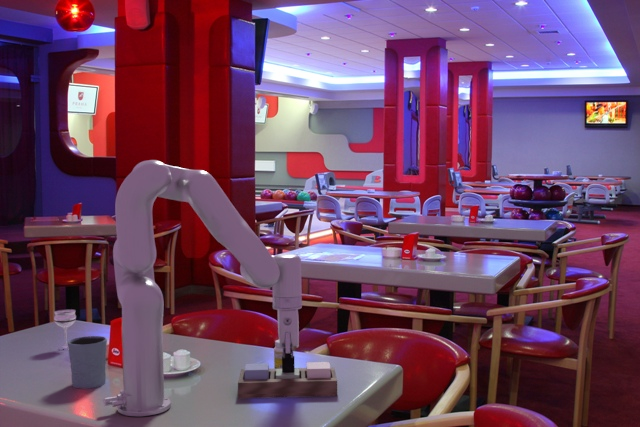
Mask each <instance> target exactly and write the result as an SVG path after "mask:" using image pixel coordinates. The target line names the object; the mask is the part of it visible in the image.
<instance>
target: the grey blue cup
mask: <svg viewBox="0 0 640 427" xmlns="http://www.w3.org/2000/svg"><path fill="white" fill-rule="evenodd" d="M107 343H108V338H107V337H105V336H99V335H95V336H94V335H92V336H91V335H90V336H81V337H79V336H78V337H75V338H72V339H70V340H68V341H67V346H68V349H69V350H68V356H69V363H70V369H71V371H70V372H71V383H72V387H73V388H76V389H82V390H83V389H84V390H85V389H95V388H99V387H102V386H103V385H105V384H106V380H107V379H106V378H107V377H106V376H107V374H106V368H107V367H106V365H107V362H106V360H107V345H108V344H107Z"/></svg>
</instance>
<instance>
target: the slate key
mask: <svg viewBox="0 0 640 427" xmlns="http://www.w3.org/2000/svg"><path fill="white" fill-rule="evenodd" d="M244 369H245V370H244V371H245V380H253V379H269V369H270V364H269V363H268V362H267V363H264V362H262V363H245V368H244Z"/></svg>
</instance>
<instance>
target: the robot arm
mask: <svg viewBox="0 0 640 427" xmlns="http://www.w3.org/2000/svg"><path fill="white" fill-rule="evenodd" d="M157 197H158V198H163V199H168V200H173V201H177V202H186V203H188V204H189V205H190V206H191V208H192V209H193V211H194V212H195V213H196V214H197V216H198V218H200V220H201V221H202V223H203V224H204V226H205V227H206V229H207V230H208V232H209V233H210V234H211V235H212V237H213V238H214V239H215V240H216V241H217V242H218V243H220V244H221V245H222V246H223V247H225V249H226V250H228V252H230V253H231V254H232V255H233V257H234V258H235V259H236V260H237V261H238V263H239V264H240V267H239V270H240V271H239V272H240V275H241V277H242V278H243V279H244V280H245V281H246V282H248V283H250V284H251V285H254V286H255V287H257V288H260V289H269V288H272V309H273V310H276V311H277V328H278V329H277V333H278V340H279V343H280V347H281V348H282V347H283V356H282V372H283V373H294V372H295V368H296V367H295V355H294V348H296V349H298V348H299V347H300V344H299V343H300V340H299V339H300V332H299V329H300V327H299V324H300V322H299V310H300V309H302V307H303V303H302V302H303V299H302V298H303V297H302V296H303V292H302V259H301V257H300V256H299V255H298V254H293V253H292V254H291V253H285V254H284V253H282V254H281V253H280V254H277V255H272V254H271V253H270V251H269V249H268V248H267V247H266V245H265V244H264V242H262V240H261V239H260V237H259V236H257V234H256V233H255V232H254V230H252V228H251V227H250V226H249V224H248V223H247V221H246V220H245V219H244V218H243V217H242V216H241V214H240V213H239V211H238V210H237V209H236V208H235V206H234V205H233V203H232V202H231V201H230V199H229V197H228V196H227V194H226V193H225V192H224V190H223V189H222V188H221V186H220V185H219V183H218V181H217V180H216V179H215V177H213V176H212V174H210V173H209V172H207V171H205V170H203V169H189V168H183V167H179V166H173V165H169V164H165V163H164V162H162V161H160V160H157V159H149V160H143V161H141V162H138V163H137V164H136V165H135V166H134V167H133V169H132V171H131V172H130V173H129V174H128V175H126V177H125V178H124V180H123V182H122V183H121V185H120V187H119V188H118V190H117V194H116V197H115V206H114V207H115V208H114V210H115V212H114V213H115V214H114V215H115V227H116V228H115V229H116V230H115V232H116V240H115V242H114V244H113V247H112V248H113V250H112V256H113V267H114V277H115V287H116V293H117V294H116V295H117V299H118V301H119V303H120V306H121V343H122V344H121V346H122V347H121V348H122V376H123V377H122V378H123V379H122V380H123V389H120V390H119V393H118V394H116V395H115V396H108V397H103V400H102V401H103V406H104V407H107V406H108V407H109V406H111V407H112V408H115V407H116V408H117V412H118V413H119V414H121V415H123V416H129V417H149V416H155V415H158V414H162V413H164V412H166V411H167V410H169V409H170V408H171V406H172V400H171V399H169V398H168V397H166V396H165V379H164V378H165V377H164V376H165V373H164V339H163V338H164V332H163V329H164V328H163V326H164V325H163V323H164V307H165V306H164V303H165V302H164V295H163V292H162V290H161V288H160V286H159V285H158V284H157V283H156V281H155V271H154V264H155V263H156V259H157V247H156V242H155V234H154V232H155V231H154V223H153V221H154V220H153V206H154V202H156V199H157Z"/></svg>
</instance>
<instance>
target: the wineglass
mask: <svg viewBox="0 0 640 427" xmlns="http://www.w3.org/2000/svg"><path fill="white" fill-rule="evenodd" d="M53 313H54V316H53V319H54V323H55V324H56V325H57V326H58V327H61V328H62V329H63V330H64V345H63V346H62V347H63V348H67V347H68V341H67V340H68V339H67V335H68V331H67V330H68V329H69V327H71V326H73V324H75V322H76V320H77V315H76V309H72V308H71V309H68V308H67V309H59V310H55V311H53Z"/></svg>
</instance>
